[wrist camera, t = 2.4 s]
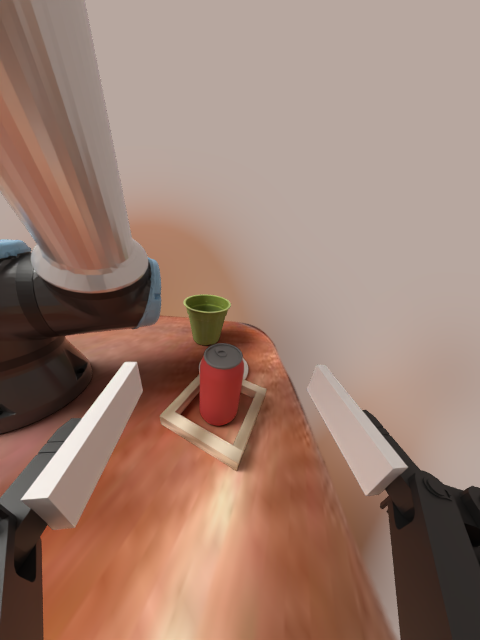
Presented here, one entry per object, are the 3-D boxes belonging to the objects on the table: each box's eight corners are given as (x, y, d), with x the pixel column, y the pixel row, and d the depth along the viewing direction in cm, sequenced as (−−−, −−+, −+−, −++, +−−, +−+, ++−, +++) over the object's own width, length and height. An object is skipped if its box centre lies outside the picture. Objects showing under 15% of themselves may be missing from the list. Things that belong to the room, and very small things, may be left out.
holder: (160, 424, 26) (159, 415, 25) (208, 371, 37) (208, 364, 36) (236, 471, 22) (238, 463, 21) (264, 396, 33) (266, 389, 32)
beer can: (223, 387, 34) (227, 336, 28) (245, 412, 29) (255, 358, 24) (192, 405, 30) (191, 349, 24) (213, 437, 25) (217, 378, 20)
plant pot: (180, 350, 42) (177, 309, 37) (189, 327, 53) (189, 292, 48) (227, 353, 44) (231, 313, 38) (227, 329, 54) (230, 296, 49)
